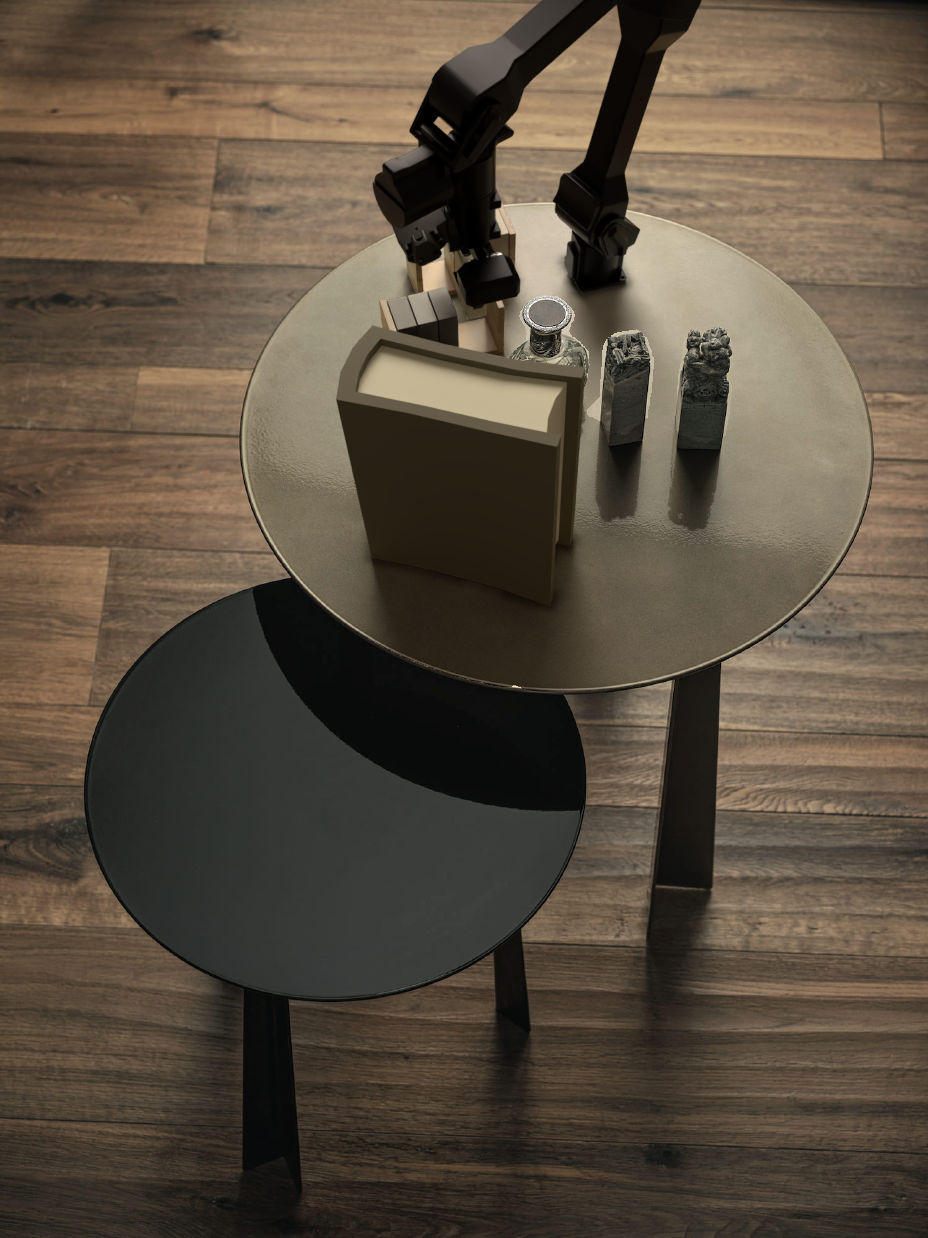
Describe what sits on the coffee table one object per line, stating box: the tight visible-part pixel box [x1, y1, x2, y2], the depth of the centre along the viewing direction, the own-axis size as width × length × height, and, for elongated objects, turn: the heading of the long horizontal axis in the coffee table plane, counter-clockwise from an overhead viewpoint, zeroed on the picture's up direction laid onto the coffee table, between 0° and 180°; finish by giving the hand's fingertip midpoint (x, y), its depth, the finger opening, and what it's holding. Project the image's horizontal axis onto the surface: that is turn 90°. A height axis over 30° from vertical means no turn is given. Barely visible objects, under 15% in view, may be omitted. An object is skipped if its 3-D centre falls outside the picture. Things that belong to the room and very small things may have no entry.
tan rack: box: [378, 287, 506, 355], centre depth 133 cm, size 14×6×8 cm, turn 106°
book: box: [335, 324, 587, 607], centre depth 111 cm, size 22×9×28 cm, turn 72°
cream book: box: [455, 249, 486, 320], centre depth 128 cm, size 2×5×7 cm, turn 16°
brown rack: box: [405, 203, 517, 296], centre depth 139 cm, size 13×6×8 cm, turn 106°
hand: (471, 291), depth 130 cm, fingers closed on cream book, 5 cm apart
